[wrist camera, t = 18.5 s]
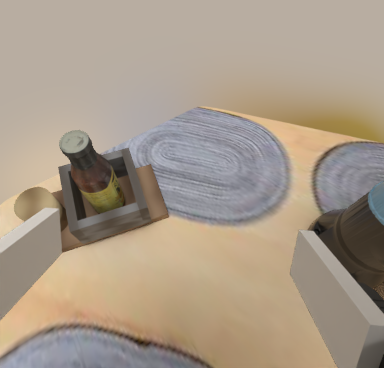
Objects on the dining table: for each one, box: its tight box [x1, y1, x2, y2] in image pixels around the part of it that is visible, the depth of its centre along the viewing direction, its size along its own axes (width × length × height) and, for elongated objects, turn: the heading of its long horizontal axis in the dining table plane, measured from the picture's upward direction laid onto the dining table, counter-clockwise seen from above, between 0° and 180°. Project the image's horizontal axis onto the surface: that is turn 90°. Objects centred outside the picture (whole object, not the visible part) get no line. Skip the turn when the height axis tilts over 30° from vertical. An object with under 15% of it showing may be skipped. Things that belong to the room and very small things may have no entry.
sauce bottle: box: [59, 130, 125, 214], centre depth 46 cm, size 7×6×20 cm
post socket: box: [14, 148, 169, 252], centre depth 52 cm, size 24×13×10 cm, turn 110°
